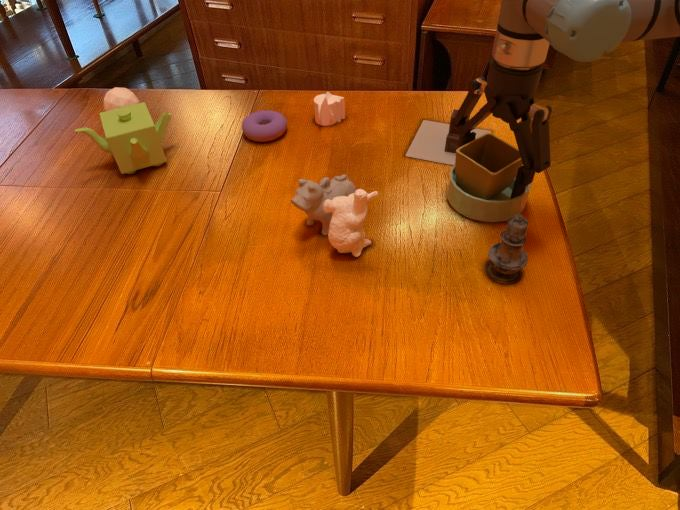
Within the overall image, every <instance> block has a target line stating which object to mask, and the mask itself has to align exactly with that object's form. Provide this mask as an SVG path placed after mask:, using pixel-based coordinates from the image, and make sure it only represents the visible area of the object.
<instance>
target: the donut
mask: <svg viewBox="0 0 680 510" xmlns="http://www.w3.org/2000/svg"><path fill="white" fill-rule="evenodd" d="M287 127H288V120H287V118H286V117H285V116H284V115H283V114H282V113H280V112H279V111H275V110H272V109H271V110H269V109H267V110H266V109H264V110H259V111H255V112H251V113H250V114H248V115H247V116H245V117H244V119H243V120H242V122H241V130H242V132H243V135H245V137H246V138H247V139H249V140H250V141H251V140H252V141H254V142H262V143H263V142H264V143H265V142H270V141H274V140H276V139H278V138H280V137H281V136H283V135H284V134H285V132H286V131H287Z"/></svg>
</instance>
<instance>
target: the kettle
mask: <svg viewBox="0 0 680 510" xmlns="http://www.w3.org/2000/svg"><path fill="white" fill-rule="evenodd" d="M171 117H172V114H171V112H162V114H161V115H160V116H159V119H158V120H157V121H156V123H154V120H153V118H152V115H151V114H150V111H149V109H148V107H147V104H146V102H144V101H143V102H140V103H138V104H134V105H130V106H121V107H119V108H117V109H113V110H109V111H105V110H104V111H102V112H101V111H100V112H99V118H100V122H101V125H102V128H103V132H104V135H105V137H102V136H100V135H99V134H98V133H97V132H96V131H95V130H94V129H92V128H90V127H88V126H87V127H85V126H84V127H78V128H76V129H74V132H76V133H82V134H83V135H84V134H85V135H87V136H88V137H89V138H91V140H92V141H93V142H94V143H95V144H96V145H97V146H98V148H99V149H100V150H102V151H104V152H105V153H108V154H112V156H113V158H114V159H115V162H116V165H117V167H118V169H119V172H120V174H121V175H124V174H126V175H127V174H128V175H131V174H134V173H136V172H137V171H138V170H141V169H145V168H149V167H160V166H162V165H163V164H164V163H166V162H168V160H167V157H166V154H165V152H164V147H163V146H162V141H163V139H164V137H165V134H166V130H167V128H168V126H169V124H170V120H171Z"/></svg>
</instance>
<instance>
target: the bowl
mask: <svg viewBox="0 0 680 510" xmlns="http://www.w3.org/2000/svg"><path fill="white" fill-rule="evenodd" d="M515 179H516V178H515ZM515 179H514V181H513V182H512V183H511V184H510V185H509V186H508V187H507V188H506V189H505V190H504V191H502V192H501V193H500V194H498V195H496V196H495V197H493V198H492V199H490V200H485V199H481V198H477V197H474V196H472V195H469V194H467V193H465V192H464V191H463V190H462V189H461V187H460V186H459V184H458V182H457V179H456V175H455V164H454V165H452V166H451V168H450V169H449V174H448V180H447V185H446V186H447V187H446V199H447V201H448V202H449V205H450V206H451V207H452V208H453V209H454V210H455V211H456V212H458V213H459V214H461V215H463V216H464V217H467V218H469V219H471V220H475V221H479V222H483V223H501V222H508V219H509V218H510V217H512V216H515V215H518V214H520V213H521V214H522V213H523V211H524V210H525V207H526V205H527V204H526V203H527V201H528V198H529V195H530V192H531V189H532V184H533V182H532V183H531V184H529V185H528V186H526V189H525V192H524V193H523V194H522V195H520V196H518V197H515V198H513V199H510V197H511V193H512V190H513V186H514V183H515Z"/></svg>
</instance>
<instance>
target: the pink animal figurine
mask: <svg viewBox="0 0 680 510" xmlns="http://www.w3.org/2000/svg"><path fill="white" fill-rule="evenodd" d="M378 192H379V191H378V190H374V191H372V192H369V193H368V192H367V191H366V190H365V189H362V188H358V189H357V188H356V191H355V193H352V194H350V195H348V196H338V197H335V198H333V199H332V200H330V199H327V200H325V201H324V203H323V210H324V212H325V213H330V212H332V213H333V214H332V218H331V221H330V226H329V233H328V234H327V237H328V238H327V239H328V242H329V245H331V246H332V247H333V248H334V249H336V251H337V252H338V253H340V254H347V253H351V255H352V256H353V257H355V258H358V257H359V256H360V255H361V254H362V251H363V249H364V248H366V247H368V246H370V245H372V241H371V239H369V238H365V237H366V232H365V228H364V227H365V226H364V224H365V223H364V221H365V219H366V217H367V215H368V212H369V204H368V202H370V201H372V200H373V199H375V198H376V197H378V196H379V193H378Z"/></svg>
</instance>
